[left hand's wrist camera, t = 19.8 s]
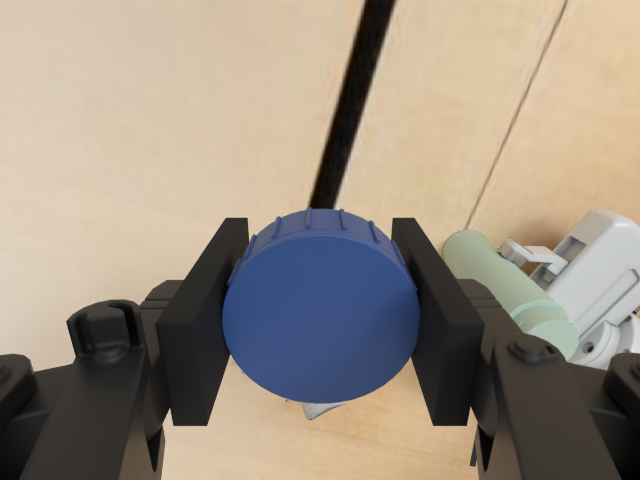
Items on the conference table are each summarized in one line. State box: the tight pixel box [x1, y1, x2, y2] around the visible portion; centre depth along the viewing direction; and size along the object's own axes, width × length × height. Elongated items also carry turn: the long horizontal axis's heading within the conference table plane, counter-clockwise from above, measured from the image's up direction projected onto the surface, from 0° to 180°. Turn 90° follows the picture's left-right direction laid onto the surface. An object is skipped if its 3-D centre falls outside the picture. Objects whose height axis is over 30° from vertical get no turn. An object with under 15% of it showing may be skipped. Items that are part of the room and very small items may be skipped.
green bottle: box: [443, 230, 579, 361], centre depth 33 cm, size 4×4×16 cm
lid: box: [222, 207, 420, 404], centre depth 11 cm, size 5×5×2 cm
